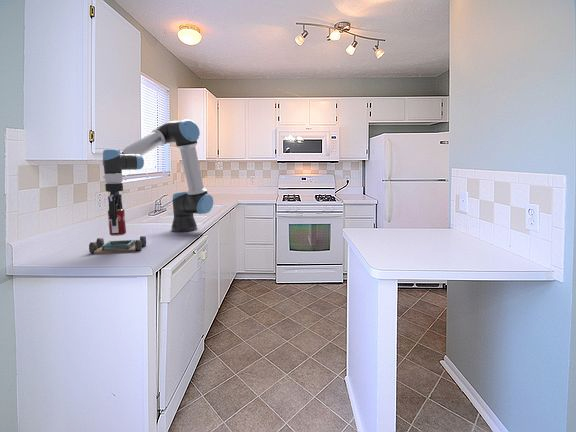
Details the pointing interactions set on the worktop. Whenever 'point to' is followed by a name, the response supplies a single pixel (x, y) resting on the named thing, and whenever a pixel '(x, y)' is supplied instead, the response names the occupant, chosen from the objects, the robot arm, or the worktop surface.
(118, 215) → the soda can
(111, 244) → the chassis
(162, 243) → the worktop surface
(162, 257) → the worktop surface
